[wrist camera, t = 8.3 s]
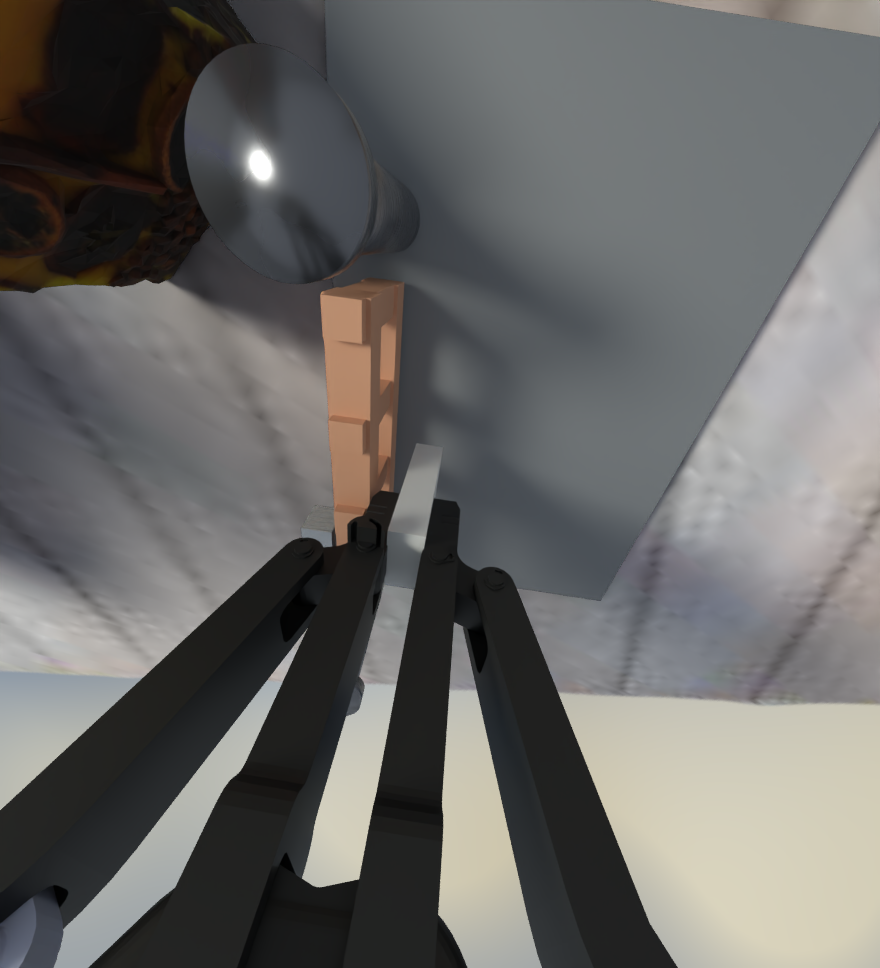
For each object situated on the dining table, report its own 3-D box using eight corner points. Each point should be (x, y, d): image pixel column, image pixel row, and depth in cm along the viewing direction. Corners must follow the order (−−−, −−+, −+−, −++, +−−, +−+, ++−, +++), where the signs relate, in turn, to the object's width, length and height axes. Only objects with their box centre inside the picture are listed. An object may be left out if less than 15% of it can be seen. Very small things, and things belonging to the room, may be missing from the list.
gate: (370, 277, 16) (314, 293, 10) (404, 281, 16) (366, 300, 10) (368, 511, 23) (335, 593, 18) (392, 514, 23) (366, 597, 18)
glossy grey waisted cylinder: (356, 256, 16) (208, 270, 7) (356, 163, 14) (159, 27, 5) (427, 268, 16) (366, 295, 7) (435, 175, 14) (369, 59, 5)
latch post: (335, 549, 26) (263, 706, 17) (332, 476, 23) (240, 625, 14) (399, 559, 26) (359, 720, 17) (406, 488, 23) (361, 644, 14)
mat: (343, 555, 27) (341, 560, 26) (329, -40, 12) (322, -52, 11) (598, 594, 27) (600, 600, 26) (905, 52, 12) (924, 44, 11)
